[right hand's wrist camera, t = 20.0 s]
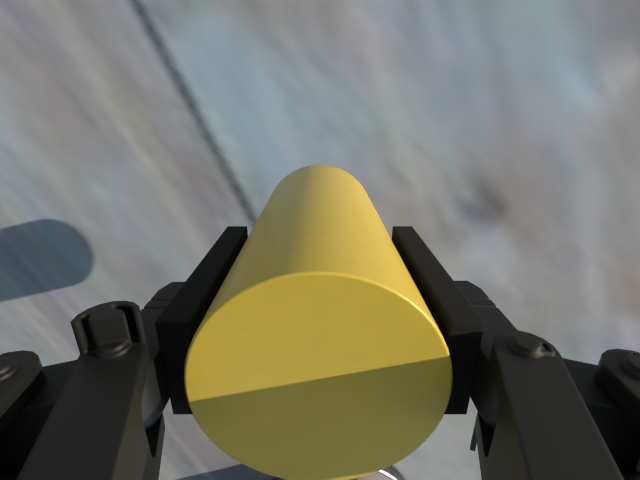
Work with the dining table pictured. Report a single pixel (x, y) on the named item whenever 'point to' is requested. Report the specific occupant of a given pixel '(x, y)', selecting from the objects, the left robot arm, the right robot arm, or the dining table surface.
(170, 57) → the dining table surface
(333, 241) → the can
